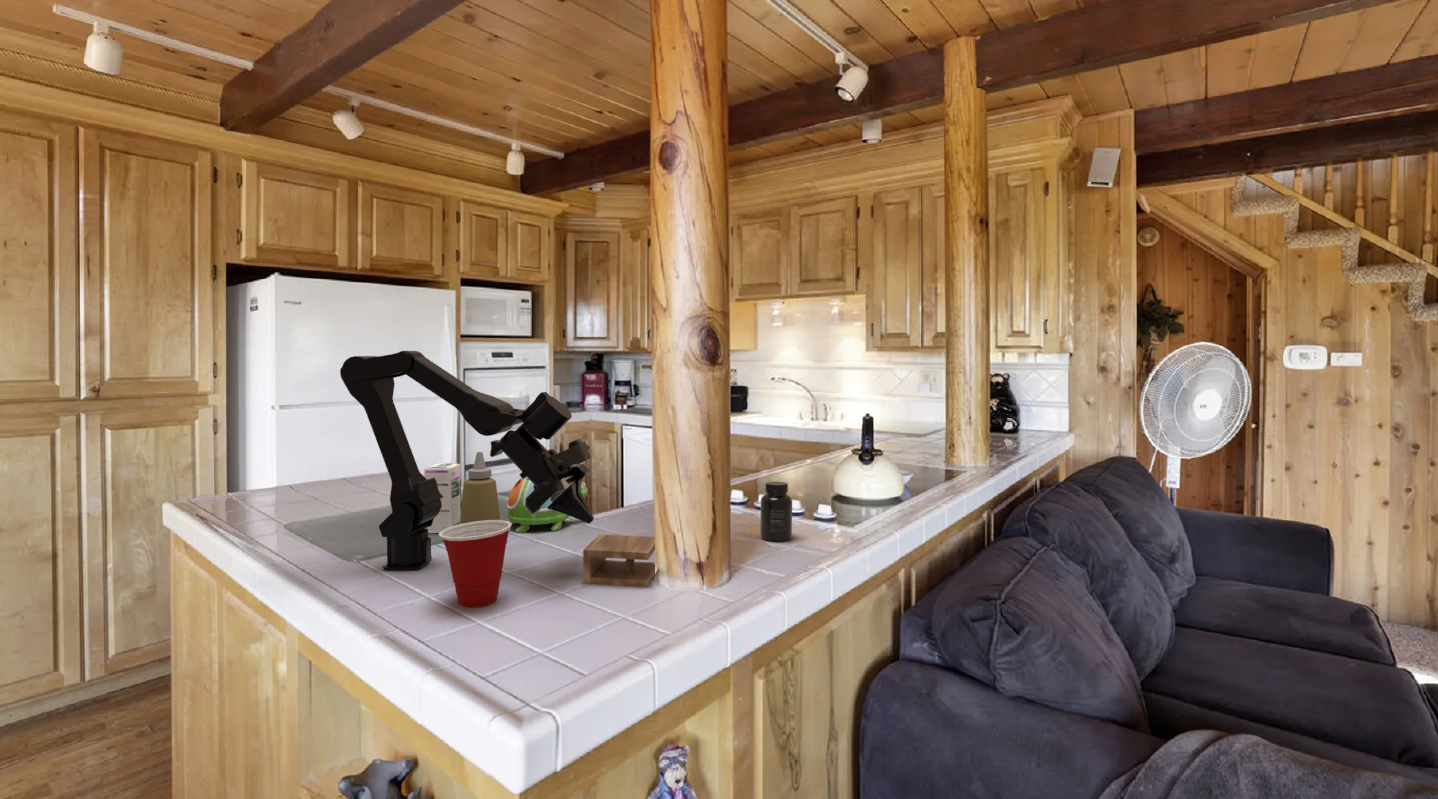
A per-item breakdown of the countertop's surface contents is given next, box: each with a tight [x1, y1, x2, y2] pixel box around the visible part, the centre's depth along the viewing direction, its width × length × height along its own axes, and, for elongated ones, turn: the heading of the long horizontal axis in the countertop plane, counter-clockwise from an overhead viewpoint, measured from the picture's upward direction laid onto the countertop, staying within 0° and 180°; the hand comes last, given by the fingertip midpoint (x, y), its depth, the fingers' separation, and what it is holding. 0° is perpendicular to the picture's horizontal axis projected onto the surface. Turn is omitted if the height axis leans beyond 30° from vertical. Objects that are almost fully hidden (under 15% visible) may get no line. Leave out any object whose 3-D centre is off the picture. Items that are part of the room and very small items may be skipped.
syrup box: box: [423, 462, 462, 534], centre depth 147 cm, size 6×6×14 cm
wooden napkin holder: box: [582, 533, 656, 588], centre depth 119 cm, size 6×10×11 cm
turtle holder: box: [506, 476, 589, 533], centre depth 153 cm, size 12×18×12 cm
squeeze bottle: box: [460, 451, 501, 524], centre depth 142 cm, size 8×8×18 cm
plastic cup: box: [438, 519, 513, 608], centre depth 106 cm, size 11×11×12 cm
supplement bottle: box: [759, 481, 793, 542], centre depth 145 cm, size 7×7×12 cm
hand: (591, 521), depth 119 cm, fingers closed
